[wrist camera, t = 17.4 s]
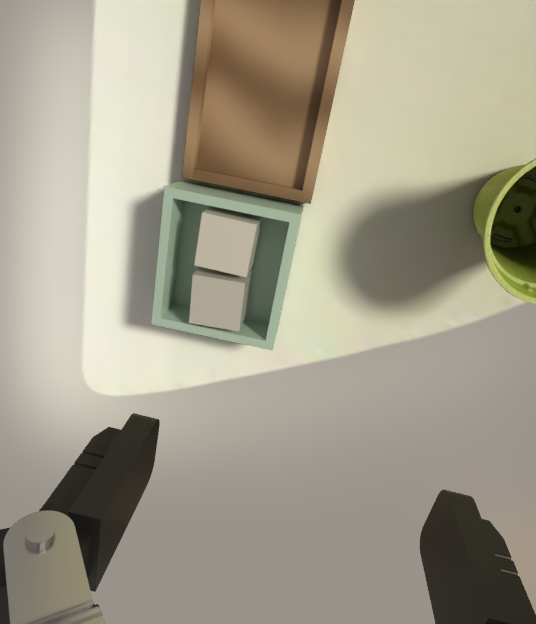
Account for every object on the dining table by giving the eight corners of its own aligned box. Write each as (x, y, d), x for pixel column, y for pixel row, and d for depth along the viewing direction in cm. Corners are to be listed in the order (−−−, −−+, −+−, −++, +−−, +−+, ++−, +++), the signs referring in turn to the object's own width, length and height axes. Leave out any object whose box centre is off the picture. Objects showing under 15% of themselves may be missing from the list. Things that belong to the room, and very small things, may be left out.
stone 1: (214, 203, 37) (202, 212, 33) (263, 215, 37) (256, 225, 33) (206, 252, 38) (194, 265, 35) (253, 262, 38) (246, 277, 35)
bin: (180, 180, 37) (164, 186, 33) (303, 205, 37) (301, 214, 33) (166, 306, 41) (151, 324, 38) (277, 330, 41) (272, 350, 37)
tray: (213, -53, 31) (207, -62, 30) (359, -25, 31) (361, -33, 30) (187, 175, 37) (181, 177, 36) (310, 200, 37) (310, 203, 35)
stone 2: (205, 260, 39) (192, 274, 35) (252, 268, 38) (245, 283, 35) (201, 305, 40) (188, 322, 36) (246, 312, 40) (239, 331, 36)
